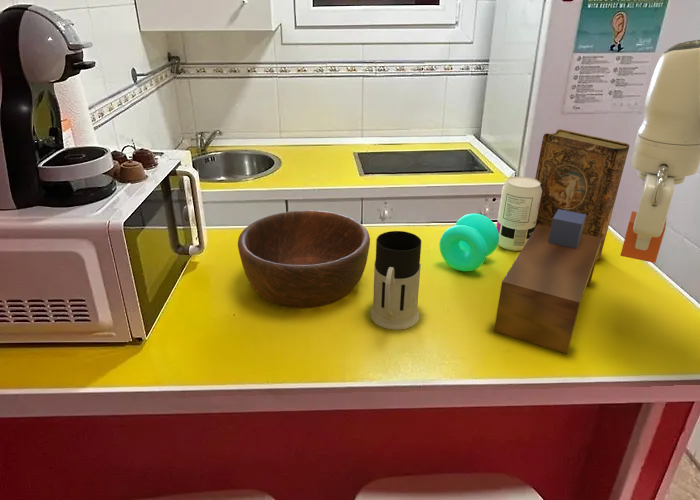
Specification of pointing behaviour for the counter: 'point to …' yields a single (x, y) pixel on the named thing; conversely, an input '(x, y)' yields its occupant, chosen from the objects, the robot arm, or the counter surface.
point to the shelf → (546, 290)
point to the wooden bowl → (304, 257)
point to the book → (580, 179)
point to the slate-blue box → (567, 228)
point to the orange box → (630, 242)
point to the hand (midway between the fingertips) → (642, 240)
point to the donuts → (469, 242)
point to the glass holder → (396, 280)
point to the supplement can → (518, 211)
